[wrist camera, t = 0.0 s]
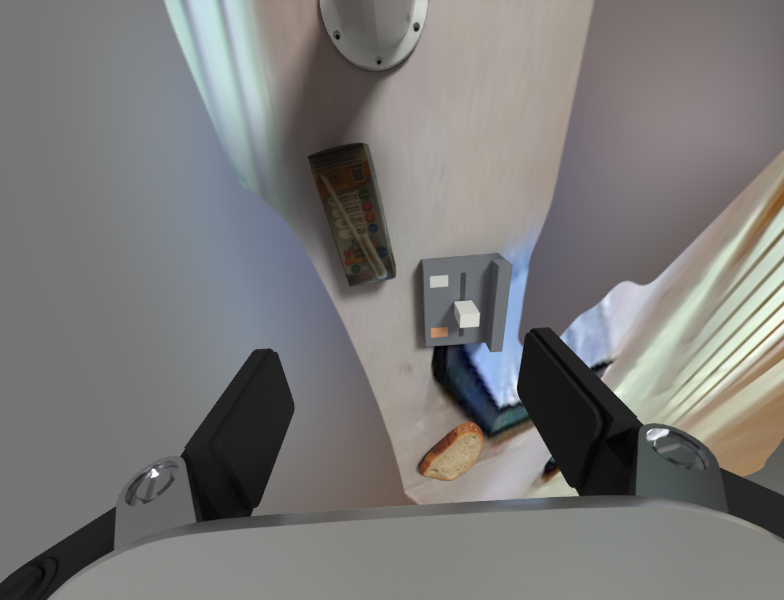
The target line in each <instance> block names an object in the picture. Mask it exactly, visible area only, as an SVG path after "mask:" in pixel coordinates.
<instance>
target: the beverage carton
mask: <svg viewBox="0 0 784 600" xmlns="http://www.w3.org/2000/svg"><path fill="white" fill-rule="evenodd" d="M308 159H309V161H310V165H311V170H312V173H313V176H314V179H315V182H316V186H317V189H318V192H319V195H320V198H321V201H322V204H323V207H324V210H325V213H326V217H327V220H328V223H329V226H330V229H331V232H332V235H333V238H334V241H335V244H336V247H337V250H338V253H339V256H340V259H341V262H342V265H343V268H344V269H345V273H346V277H347V280H348V283H349V286H350V287H352V286H357V285H362V284H366V283H372V282H378V281H383V280H389V279H393V278H395V277H396V265H395V261H394V256H393V252H392V249H391V244H390V239H389V234H388V230H387V225H386V220H385V215H384V210H383V206H382V201H381V196H380V192H379V187H378V183H377V178H376V174H375V169H374V166H373V162H372V158H371V154H370V150H369V147H368V145H367V144H365V143H353V144H347V145H342V146H338V147H334V148H330V149H327V150H324V151H321V152H318V153H315V154H313V155H310V156H308Z"/></svg>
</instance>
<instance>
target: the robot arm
mask: <svg viewBox="0 0 784 600" xmlns="http://www.w3.org/2000/svg"><path fill="white" fill-rule="evenodd" d="M428 3H429V0H320V8H321V13H322V17H323V21H324V24H325V26H326V29H327V32H328V34H329V36H330V38H331V40H332V42H333V43H334V45H335V46H336V48H337V49H338V51H339V52H340V53H341V54H342V55H343V56H344V57H345V58H346V59H347V60H348V61H350V62H351V63H352V64H354V65H356V66H358V67H360V68H362V69H366V70H371V71H382V70H386V69H390V68H392V67H394V66H396V65H398V64H399V63H401V62H402V61H403V60H404V59H405V58H406V57H408V55H409V54H410V53H411V52H412V50H413V49H414V48H415V46H416V44H417V42H418V40H419V39H420V37H421V34H422V31H423V28H424V25H425V21H426V17H427V11H428ZM414 28H417V29H418V31H417V32H415V31H414ZM337 36H340V39H339V40H337V39H336V37H337ZM377 61H381V64H380V65H378V64H377ZM517 392H518V396H519V398H520V400H521V401H522V403H523V405H524V407H525V409H526V410H527V412H528V414H529V416H530V417H531V419H532V421H533V423H534V425H535V426H536V428H537V430H538V432H539V434H540V435H541V437H542V439H543V441H544V442H545V444H546V446H547V448H548V450H549V451H550V453H551V455H552V457H553V458H554V460H555V462H556V464H557V466H558V467H559V469H560V471H561V473H562V475H563V476H564V478H565V480H566V482H567V483H568V485H569V486H570V487H572V488H575V489H576V491H577V492H578V494H579V496H573V497H548V498H530V499H512V500H495V501H477V502H459V503H443V504H427V505H411V506H396V507H380V508H363V509H349V510H334V511H319V512H304V513H289V514H274V515H263V516H252V517H250V516H251V513H252V511H253V508H256V507H258V505H259V504H260V501H261V499H262V496H263V494H264V491H265V488H266V485H267V483H268V480H269V477H270V474H271V472H272V469H273V467H274V464H275V461H276V459H277V456H278V453H279V451H280V448H281V445H282V443H283V440H284V437H285V435H286V432H287V429H288V427H289V424H290V421H291V419H292V416H293V413H294V401H293V398H292V395H291V392H290V389H289V386H288V383H287V380H286V377H285V374H284V371H283V368H282V365H281V362H280V359H279V355H278V353H277V352H273V350H272V349H270V348H269V349H256V350H254V351H253V352H252V353H251V355H250V356H249V357H248V359H247V360H246V362H245V363H244V365H243V366H242V367H241V369H240V370H239V372H238V373H237V374H236V376H235V377H234V379H233V380H232V381H231V383H230V384H229V386H228V387H227V388H226V390H225V391H224V393H223V394H222V396H221V397H220V398H219V400H218V401H217V402H216V404H215V405H214V407H213V408H212V410H211V411H210V412H209V414H208V415H207V417H206V418H205V419H204V421H203V422H202V424H201V425H200V426H199V428H198V430H197V431H196V432H195V433H194V435H193V436H192V438H191V439H190V441H189V442H188V443H187V445H186V446H185V450H184V452H183V453H182V455H181V456H180V457H179V456H168V457H164V458H160V459H158V460H156V461H154V462H152V463H150V464H148V465H147V466H146V467H144V468H142V469H141V470H140V471H139V472H137V473H136V474H135V475H134V476H133V477H132V478H131V479H130V480H129V481H128V482H127V483H126V484H125V485H124V487H123V489H122V490H121V492H120V494H119V495H118V499H117V503H116V507H114V508H112V509H111V510H109V511H108V512H106V513H105V514H103V515H101V516H100V517H98V518H97V519H95V520H94V521H92V522H91V523H89V524H87V525H86V526H84V527H83V528H81V529H79V530H78V531H76V532H75V533H73V534H72V535H70V536H68V537H67V538H66V539H64V540H62V541H61V542H59V543H57V544H56V545H54V546H53V547H51V548H49V549H48V550H47V551H45V552H43V553H42V554H40V555H38V556H37V557H35V558H34V559H32V560H31V561H29V562H27V563H26V564H24V565H23V566H22V567H20V568H19V569H17V570H16V571H15V572H13V573H12V574H10V575H9V576H8V577H7V578H6V579H5V580H4V581H3V582H1V583H0V600H784V496H783V495H781V494H779V493H777V492H774V491H772V490H770V489H767V488H765V487H763V486H761V485H758V484H756V483H754V482H752V481H749V480H747V479H744V478H743V477H740V476H738V475H736V474H733V473H731V472H729V471H727V470H724V469H722V468H720V466H719V463H718V461H717V459H716V457H715V455H714V454H713V453H712V452H711V451H710V449H709V448H708V447H707V446H705V445H704V444H703V443H702V442H700V441H699V440H698V439H696V438H695V437H693V436H691V435H690V434H688V433H686V432H684V431H682V430H679V429H677V428H675V427H671V426H668V425H664V424H657V423H651V424H645V425H643V424H642V423H641V422H640V421H639V420H638V419H637V416H636V415H635V414H634V413H633V412H632V411H631V410H630V409H629V408H628V407H627V406H626V405H625V404H624V403H623V402H622V401H621V400H620V399H619V398H618V397H617V396H616V395H615V394H614V393H613V392H612V391H611V390H610V389H609V388H608V387H607V386H606V385H605V384H604V383H603V382H602V380H601V379H600V378H599V377H598V376H597V375H596V374H595V373H594V372H593V371H592V370H591V369H590V368H589V367H588V366H587V365H586V364H585V363H584V362H583V361H582V360H581V359H580V358H579V357H578V356H577V355H576V354H575V353H574V352H573V351H572V350H571V349H570V348H569V347H568V346H567V345H566V344H565V343H564V342H563V341H562V340H561V339H560V338H559V337H558V336H557V335H556V334H555V333H554V332H553V331H552V330H551V329H550V328H548V327H546V328H533V329H531V330H530V333H527V334H526V335H525V340H524V347H523V353H522V359H521V365H520V371H519V377H518V384H517Z"/></svg>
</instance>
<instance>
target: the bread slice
mask: <svg viewBox="0 0 784 600" xmlns="http://www.w3.org/2000/svg"><path fill="white" fill-rule="evenodd" d="M482 446H483V434H482V431H481V429H480V428H479V426H478V425H476V424H475V423H472V422H465V423H462V424H461V425H459V426H458V427H456V428H455V429H453V430H452V431H451V432H450V433H448V434H447V435H446V436H445V437H444V438H443V439H442V440H441V441H440V442H439V443H437V444H436V446H435V447H434V448H432V450H431V451H430V452H429V453H428V454H427V455H426V457H425V459H424V461H423V462H422V464H421V465H420V467H419V470H420V473H421V474H422V475H423V476H424V477H432V478H435V479H439V480H443V481H452V480H454V479H456V478H457V477H459V476H460V475H462V474H463V473H465V472H466V471H467V470H468V469H470V468H471V466H473V465H474V463H475V462H476V461H477V457H478V454H479V452H480V451H481V450H482Z"/></svg>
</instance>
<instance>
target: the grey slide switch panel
mask: <svg viewBox="0 0 784 600" xmlns="http://www.w3.org/2000/svg"><path fill="white" fill-rule="evenodd" d="M421 267H422V296H423V325H424V340H425V345H426V347H429V346H442V345H456V344H469V343H483V342H485V343H486V345H487V347H488V349H489V350H490V352H501V351H502V347H503V339H504V331H505V322H506V314H507V306H508V298H509V289H510V281H511V273H512V264H511V263H509V262H508V261H507V260H506V259H505V258H503V257H502V256H501V255H500V254H498V253H494V254H482V255H470V256H458V257H446V258H433V259H421ZM470 300H472V301H473V303H474V305H475V306H476V308H477V309H478V311H479V313H480V319H479V327H466V328H460V327H459V324H458V322H457V320H456V318H455V315H454V302H457V301H470Z"/></svg>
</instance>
